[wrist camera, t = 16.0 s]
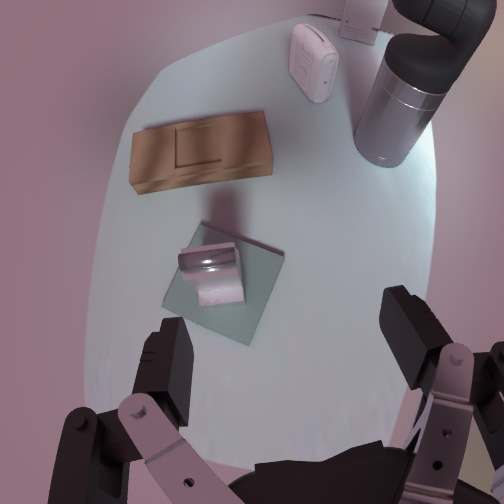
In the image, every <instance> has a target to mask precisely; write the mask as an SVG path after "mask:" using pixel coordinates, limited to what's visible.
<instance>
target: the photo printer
mask: <svg viewBox="0 0 504 504" xmlns="http://www.w3.org/2000/svg"><path fill="white" fill-rule="evenodd" d="M338 62H339V55H338V52H337V50H336V49H335V47H334V46H333V44H332V43H331V42H330V40H329V39H328V38H327V37H326V36H325V35H324V34H323V33H322V32H321V31H319V30H318V29H317V28H315V27H313V26H311V25H309V24H306V23H303V24H297V25H296V26H295V27H294V28H293V30H292V33H291V45H290V57H289V73H290V75H291V76H292V78H293V79H294V80H295V82H296V83H297V84H298V86H299V87H300V88H301V90H302V91H303V92H304V94H305V95H306V96H307V97H308V98H309V99H310V100H311V101H312V102H315V103H322V102H325V101H326V100H327V99H328V98H329V97H330V95H331V91H332V87H333V83H334V79H335V75H336V71H337V67H338Z"/></svg>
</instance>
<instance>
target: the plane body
mask: <svg viewBox="0 0 504 504" xmlns="http://www.w3.org/2000/svg"><path fill="white" fill-rule="evenodd" d="M272 167H273V158H272V153H271V148H270V143H269V138H268V133H267V128H266V123H265V118H264V113H263V112H253V113H244V114H236V115H228V116H221V117H214V118H207V119H201V120H195V121H189V122H184V123H178V124H173V125H168V126H163V127H158V128H153V129H149V130H144V131H140V132H135V133H133V139H132V149H131V160H130V173H129V183H130V184H131V186H132V187H133V188H134V190H135V191H136V192H137V194H138V195H141V194H147V193H152V192H158V191H163V190H169V189H175V188H181V187H187V186H193V185H200V184H206V183H213V182H220V181H227V180H235V179H242V178H250V177H258V176H267V175H272Z"/></svg>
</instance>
